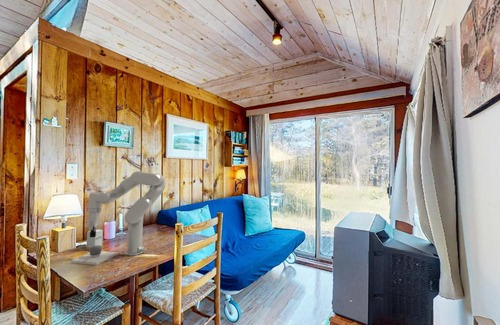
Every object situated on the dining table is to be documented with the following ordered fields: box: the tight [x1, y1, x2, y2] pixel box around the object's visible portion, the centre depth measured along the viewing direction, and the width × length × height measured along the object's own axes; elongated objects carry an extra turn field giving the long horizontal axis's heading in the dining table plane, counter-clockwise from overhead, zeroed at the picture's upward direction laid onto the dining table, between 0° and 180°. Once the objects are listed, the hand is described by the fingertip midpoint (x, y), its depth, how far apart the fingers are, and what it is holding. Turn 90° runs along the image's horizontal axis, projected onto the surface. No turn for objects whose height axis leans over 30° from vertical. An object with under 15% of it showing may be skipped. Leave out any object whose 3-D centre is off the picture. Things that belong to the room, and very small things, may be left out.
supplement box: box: [86, 229, 104, 247], centre depth 178 cm, size 7×7×13 cm
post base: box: [70, 250, 118, 266], centre depth 155 cm, size 19×19×3 cm
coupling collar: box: [78, 245, 102, 255], centre depth 157 cm, size 15×6×4 cm, turn 81°
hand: (92, 236), depth 163 cm, fingers closed
